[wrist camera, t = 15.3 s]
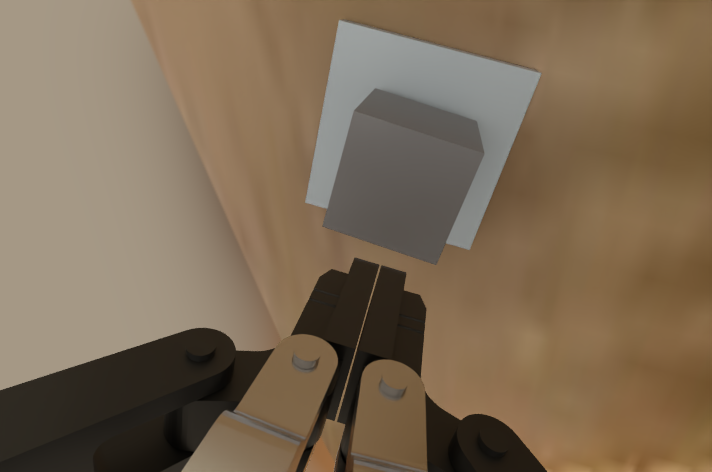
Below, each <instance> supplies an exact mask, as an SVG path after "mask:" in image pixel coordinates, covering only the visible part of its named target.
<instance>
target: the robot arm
mask: <svg viewBox="0 0 712 472" xmlns="http://www.w3.org/2000/svg"><path fill="white" fill-rule="evenodd" d="M378 268H379V265H378V264H375V263H371V262H368V261H365V260H361V259H358V258H354V261H353V263H352V266H351V268H350V271H349V274H346V273H343V272H340V271H336V270H333V269H331V270H330V271H328V272H327V273H325V274H323V275H322V276H320V277H319V279H318V281H317V284H316V286H315V288H314V290H313V292H312V294H311V296H310V298H309V300H308V302H307V304H306V306H305V308H304V310H303V312H302V314H301V316H300V318H299V320H298V322H297V324H296V326H295V328H294V330H293V332H292V334H291V336H289V337H287V338H285V339H283V340H282V341H281V342H279V344H278V345H277V346H276V348H274V349H271V350H267V351H236V348H235V345H234V343H233V341H232V340H231V339H230V338H229V337H228V336H227V335H226V334H224V333H222V332H220V331H218V330H214V329H209V328H195V329H190V330H186V331H183V332H180V333H177V334H174V335H171V336H168V337H164V338H162V339H158V340H155V341H152V342H149V343H146V344H143V345H140V346H137V347H134V348H131V349H127V350H124V351H121V352H118V353H115V354H112V355H109V356H106V357H103V358H100V359H96V360H93V361H90V362H87V363H84V364H81V365H78V366H75V367H71V368H68V369H65V370H62V371H59V372H56V373H53V374H50V375H47V376H44V377H41V378H37V379H34V380H31V381H28V382H25V383H22V384H19V385H16V386H13V387H10V388H6V389H3V390H0V472H305V471H306V468H307V466H308V463H309V461H310V458H311V456H312V454H313V451H314V448H315V445H316V442H317V441H318V440H319V438H320V436H321V434H322V431H323V428H324V424H325V421H326V418H327V419H330V420H333V421H334V420H335V417H336V414H337V410H338V407H339V403H340V400H341V397H342V393H343V390H344V386H345V383H346V380H347V376H348V373H349V369H350V366H351V363H352V359H353V356H354V352H355V349H356V345H357V342H358V338H359V335H360V331H361V328H362V324H363V321H364V317H365V314H366V310H367V307H368V303H369V300H370V296H371V292H372V289H373V285H374V282H375V278H376V275H377V271H378ZM405 278H406V272H402V271H399V270H396V269H392V268H389V267H385V266H381V269H380V272H379V276H378V279H377V282H376V286H375V289H374V292H373V296H372V299H371V303H370V306H369V309H368V313H367V316H366V320H365V323H364V327H363V330H362V334H361V337H360V341H359V345H358V348H357V352H356V355H355V359H354V363H353V366H352V370H351V373H350V377H349V381H348V384H347V388H346V391H345V395H344V399H343V402H342V406H341V409H340V413H339V417H338V420H337V422H340V423H343V424H345V428H344V432H343V436H342V440H341V443H340V446H339V449H338V452H337V456H336V462H335V468H334V472H547V471H546V470H545V468H544V467H543V466H542V465H541V464H540V462H539V461H538V460H537V459H536V458H535V456H534V455H533V454H532V453H531V452H530V450H529V449H528V448H527V447H526V446H525V444H524V443H523V442H522V441H521V440H520V438H519V437H518V436H517V435H516V434H515V433H514V431H513V430H512V429H510V428H509V427H508V426H507V425H506V424H504V423H503V422H501V421H499V420H498V419H496V418H493V417H491V416H488V415H483V414H472V415H469V416H467V417H465V418H463V419H462V420H459V419H457V418H456V417H454V416H453V415H451V414H449V413H448V412H446V411H444V410H443V409H441V408H440V407H439V406H438V405H436V404H435V403H434V402H433V401H432V400H431V399H430V398H429V396H428V395H427V394H426V392H425V387H424V384H423V382H422V380H421V365H422V353H423V342H424V330H425V318H426V307H425V305H424V303H423V301H422V298H421V296H420V295H418V294H414V293H411V292H408V291H404V284H405Z"/></svg>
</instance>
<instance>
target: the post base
mask: <svg viewBox="0 0 712 472" xmlns="http://www.w3.org/2000/svg"><path fill="white" fill-rule="evenodd" d="M541 74H542V73H540V72H539V71H537V70H535V69H531V68H527V67H524V66H520V65H516V64H512V63H508V62H505V61H501V60H497V59H493V58H489V57H486V56H482V55H478V54H474V53H470V52H467V51H463V50H459V49H455V48H451V47H448V46H444V45H440V44H436V43H432V42H429V41H425V40H421V39H417V38H413V37H410V36H406V35H402V34H398V33H394V32H391V31H387V30H383V29H379V28H375V27H372V26H368V25H364V24H360V23H356V22H353V21H349V20H339V24H338V29H337V35H336V40H335V45H334V51H333V56H332V61H331V67H330V72H329V78H328V83H327V88H326V94H325V99H324V104H323V110H322V115H321V121H320V126H319V131H318V137H317V142H316V148H315V153H314V158H313V164H312V169H311V174H310V180H309V185H308V191H307V196H306V201H305V203H308V204H312V205H315V206H319V207H322V208H326V209H327V208H328V204H329V200H330V197H331V193H332V189H333V186H334V182H335V178H336V175H337V171H338V167H339V163H340V160H341V156H342V152H343V149H344V145H345V141H346V138H347V134H348V130H349V127H350V123H351V119H352V115H353V112H354V110H355V109H356V108H357V107H358V106H359V105H360V104H361V103H362V102H363V100H364V99H365V98H366V97H367V96H368V95H369V94H370V93H371V92H372V91H373V90H374V89H375V88H377V89H380V90H383V91H386V92H389V93H392V94H395V95H398V96H401V97H404V98H407V99H410V100H413V101H417V102H420V103H423V104H426V105H429V106H432V107H435V108H438V109H441V110H444V111H447V112H450V113H453V114H456V115H459V116H463V117H466V118H469V119H472V120H475V121H477V124H478V128H479V132H480V136H481V140H482V145H483V149H484V153H485V154H484V156H483V159H482V161H481V163H480V166H479V168H478V170H477V172H476V175H475V177H474V179H473V182H472V184H471V186H470V188H469V191H468V193H467V195H466V198H465V200H464V202H463V204H462V207H461V209H460V211H459V214H458V216H457V218H456V221H455V223H454V225H453V227H452V230H451V232H450V234H449V237H448V239H447V241H446V243H447V244H450V245H454V246H457V247H461V248H464V249H468V250H470V247H471V245H472V242H473V240H474V238H475V235H476V233H477V230H478V228H479V225H480V223H481V220H482V218H483V216H484V213H485V211H486V208H487V206H488V203H489V201H490V198H491V196H492V194H493V191H494V189H495V186H496V184H497V181H498V179H499V176H500V174H501V171H502V169H503V167H504V164H505V162H506V159H507V157H508V154H509V152H510V149H511V147H512V145H513V142H514V140H515V137H516V135H517V132H518V130H519V127H520V125H521V123H522V120H523V118H524V115H525V113H526V110H527V108H528V105H529V103H530V100H531V98H532V96H533V93H534V91H535V88H536V86H537V83H538V81H539V78H540V76H541Z"/></svg>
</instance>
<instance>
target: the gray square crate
mask: <svg viewBox="0 0 712 472" xmlns="http://www.w3.org/2000/svg"><path fill="white" fill-rule="evenodd" d="M484 154H485V153H484V149H483V145H482V140H481V136H480V132H479V128H478V124H477V121H475V120H472V119H469V118H466V117H463V116H459V115H456V114H453V113H450V112H447V111H444V110H441V109H438V108H435V107H432V106H429V105H426V104H423V103H420V102H417V101H413V100H410V99H407V98H404V97H401V96H398V95H395V94H392V93H389V92H386V91H383V90H380V89H377V88H375V89H374V90H373V91H372V92H371V93H370V94H369V95H368V96H367V97H366V98H365V99H364V100H363V102H362V103H361V104H360V105H359V106H358V107H357V108H356V109H355V110H354V112H353V115H352V119H351V123H350V127H349V130H348V134H347V138H346V141H345V145H344V149H343V152H342V156H341V160H340V163H339V167H338V171H337V175H336V178H335V182H334V186H333V189H332V193H331V197H330V200H329V204H328V208H327V211H326V215H325V219H324V223H323V226H322V227H325V228H328V229H331V230H334V231H337V232H340V233H343V234H346V235H349V236H352V237H355V238H358V239H361V240H364V241H367V242H370V243H373V244H375V245H378V246H381V247H384V248H387V249H390V250H393V251H396V252H399V253H402V254H405V255H408V256H411V257H414V258H417V259H420V260H423V261H426V262H429V263H431V264H434V265H436V264H437V262H438V260H439V257H440V255H441V253H442V250H443V248H444V246H445V243H446V241H447V239H448V237H449V234H450V232H451V230H452V227H453V225H454V223H455V221H456V218H457V216H458V214H459V211H460V209H461V207H462V204H463V202H464V200H465V198H466V195H467V193H468V191H469V188H470V186H471V184H472V182H473V179H474V177H475V175H476V172H477V170H478V168H479V166H480V163H481V161H482V159H483V156H484Z"/></svg>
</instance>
